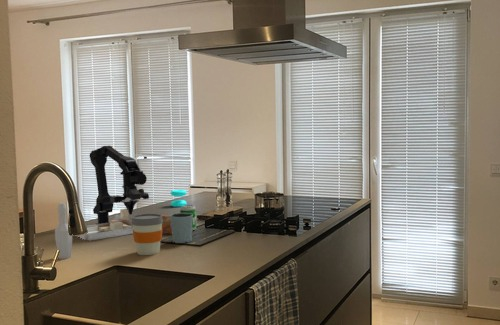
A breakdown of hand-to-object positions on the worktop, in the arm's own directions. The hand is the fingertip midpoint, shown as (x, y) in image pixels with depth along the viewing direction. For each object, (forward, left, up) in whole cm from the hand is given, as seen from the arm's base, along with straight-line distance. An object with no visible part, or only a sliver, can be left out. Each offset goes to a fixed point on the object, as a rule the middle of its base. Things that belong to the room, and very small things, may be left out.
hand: (130, 214), depth 268 cm
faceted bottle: (+34, -45, -8) cm, 57 cm away
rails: (0, -11, -8) cm, 13 cm away
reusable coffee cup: (+50, -16, -8) cm, 53 cm away
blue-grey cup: (+42, +5, -8) cm, 43 cm away
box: (0, -21, -8) cm, 22 cm away
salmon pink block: (-3, -6, -6) cm, 9 cm away
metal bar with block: (0, -3, -4) cm, 5 cm away
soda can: (+23, +20, -8) cm, 31 cm away
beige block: (+3, -9, -6) cm, 11 cm away
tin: (+20, +9, -8) cm, 23 cm away
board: (0, -7, -8) cm, 10 cm away
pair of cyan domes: (-47, +56, -8) cm, 74 cm away
